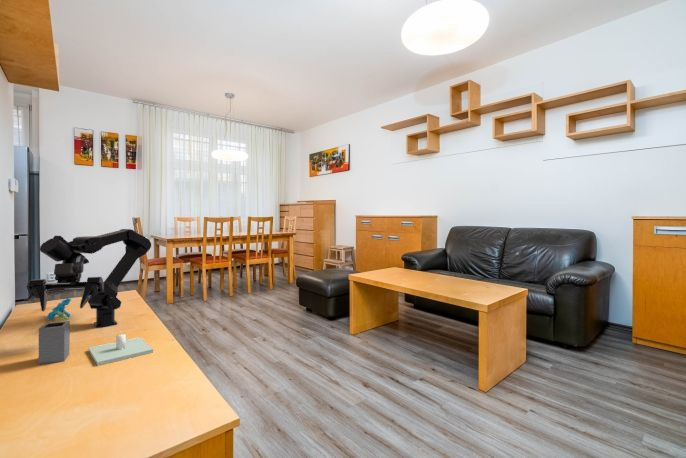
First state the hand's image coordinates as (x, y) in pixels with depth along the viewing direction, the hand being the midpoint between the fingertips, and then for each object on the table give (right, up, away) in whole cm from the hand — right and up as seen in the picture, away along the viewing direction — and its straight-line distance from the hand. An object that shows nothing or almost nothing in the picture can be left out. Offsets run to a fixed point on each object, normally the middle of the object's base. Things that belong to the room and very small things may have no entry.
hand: (62, 309), depth 102 cm
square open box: (+3, -13, -6) cm, 15 cm away
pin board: (+18, -13, 0) cm, 22 cm away
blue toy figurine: (-27, -11, +30) cm, 42 cm away
